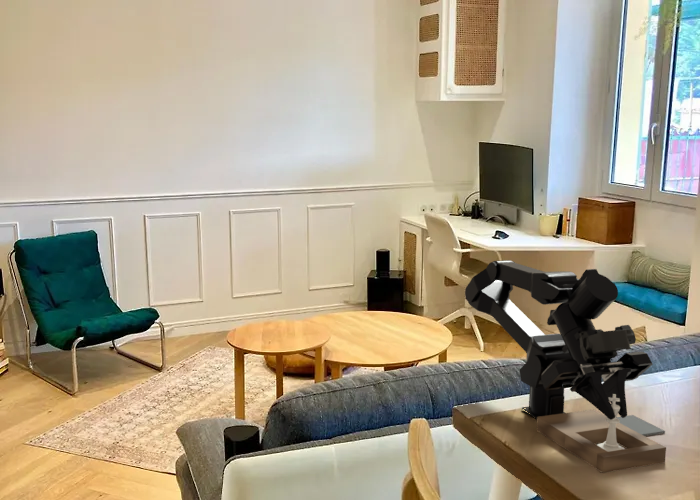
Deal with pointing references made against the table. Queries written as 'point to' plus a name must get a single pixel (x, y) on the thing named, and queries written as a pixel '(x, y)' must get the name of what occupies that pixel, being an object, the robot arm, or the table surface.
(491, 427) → the table surface
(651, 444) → the brown slab with hole
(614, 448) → the chess piece
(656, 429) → the rubber mat
